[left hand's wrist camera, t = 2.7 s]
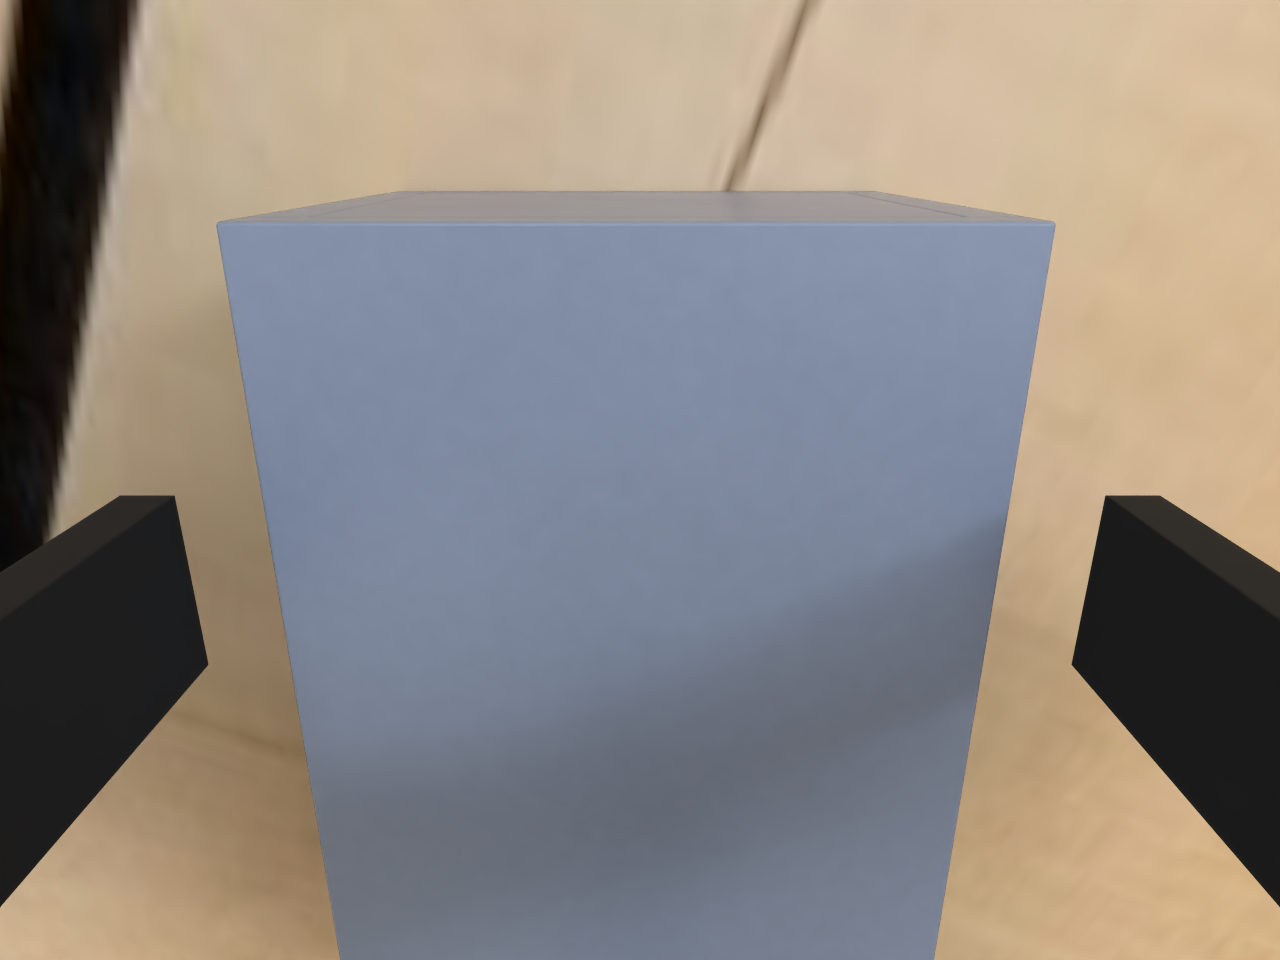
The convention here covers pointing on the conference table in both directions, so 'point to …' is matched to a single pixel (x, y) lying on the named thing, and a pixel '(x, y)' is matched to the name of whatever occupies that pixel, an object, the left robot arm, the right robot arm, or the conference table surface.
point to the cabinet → (636, 556)
